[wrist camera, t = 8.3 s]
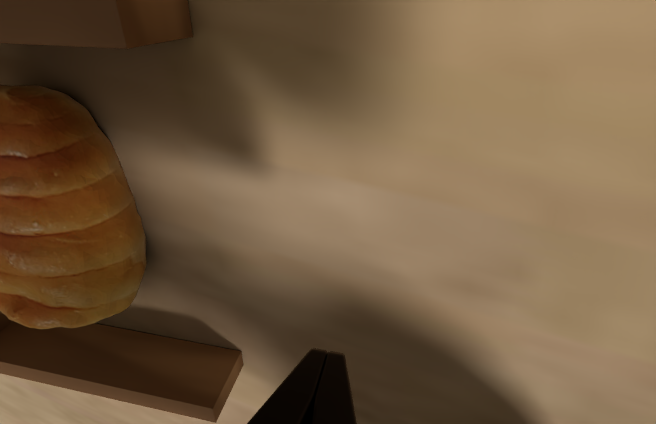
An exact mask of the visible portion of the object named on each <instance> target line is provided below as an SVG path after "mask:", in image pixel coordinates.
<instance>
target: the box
mask: <svg viewBox="0 0 656 424" xmlns="http://www.w3.org/2000/svg"><path fill="white" fill-rule="evenodd" d="M188 37H193V33H192V26H191V20H190V13H189V7H188V0H0V43H12V44H34V45H56V46H77V47H99V48H121V49H129V48H134V47H139V46H145V45H150V44H156V43H161V42H167V41H172V40H178V39H183V38H188ZM242 367H243V359H242V353H241V351H236V350H231V349H226V348H221V347H216V346H210V345H205V344H200V343H195V342H189V341H184V340H179V339H174V338H168V337H163V336H158V335H153V334H148V333H142V332H137V331H132V330H127V329H121V328H116V327H111V326H106V325H100V324H95V323H93V324H89V325H86V326H82V327H77V328H66V327H55V328H49V329H36V328H29V327H26V326H24V325H22V324H19V323H17V322H14V321H12V320H9V319H8V317H7V316H6V315H5V314H3V313H2V312H1V311H0V373H1V374H6V375H10V376H14V377H19V378H23V379H28V380H32V381H36V382H41V383H45V384H49V385H54V386H58V387H62V388H67V389H71V390H76V391H80V392H84V393H89V394H93V395H97V396H102V397H106V398H111V399H115V400H119V401H124V402H128V403H132V404H137V405H141V406H146V407H150V408H154V409H159V410H163V411H167V412H172V413H176V414H180V415H185V416H189V417H194V418H198V419H202V420H207V421H211V422H215V423H216V421H217V419H218V417H219V415H220V413H221V411H222V409H223V407H224V405H225V402H226V400H227V398H228V396H229V394H230V392H231V390H232V388H233V386H234V383H235V381H236V379H237V377H238V375H239V373H240V371H241V369H242Z"/></svg>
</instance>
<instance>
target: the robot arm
mask: <svg viewBox="0 0 656 424" xmlns="http://www.w3.org/2000/svg"><path fill="white" fill-rule="evenodd" d="M247 424H357V423H356V417H355V411H354V406H353V400H352V394H351V388H350V383H349V377H348V371H347V366H346V360H345V356H344V354H343V353H338V352H332V351H330V352H329V353H328V352H327V351H326V350H321V349H316V348H313V349H311V350H310V351H309V352H308V353H307V354H306V356H305V357H304V358H303V359H302V360H301V361H300V363H299V364H298V365H297V366H296V367H295V368H294V370H293V371H292V372H291V373H290V374H289V375H288V377H287V378H286V379H285V380H284V381H283V382H282V384H281V385H280V386H279V387H278V388H277V389H276V391H275V392H274V393H273V394H272V395H271V396H270V398H269V399H268V400H267V401H266V402H265V403H264V405H263V406H262V407H261V408H260V409H259V410H258V412H257V413H256V414H255V415H254V416H253V417H252V419H251V420H250V421H249V422H248V423H247Z"/></svg>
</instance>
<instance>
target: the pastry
mask: <svg viewBox="0 0 656 424" xmlns="http://www.w3.org/2000/svg"><path fill="white" fill-rule="evenodd" d="M145 247H146V237H145V233H144V230H143V227H142V223H141V217H140V216H139V215H138V213H137V209H136V204H135V200H134V197H133V195H132V193H131V191H130V188H129V186H128V183H127V180H126V178H125V175H124V172H123V169H122V167H121V164H120V162H119V159H118V157H117V155H116V153H115V150H114V148H113V146H112V144H111V142H110V140H109V139H108V138H107V137H106V136H105V135H104V134H103V133H102V131H101V130H100V129H99V127H98V126H97V124H96V123H95V121H94V120H93V118H92V116H91V114H90V113H89V111H88V110H87V109H86V108H85V107H84V106H82V105H81V104H79V103H78V102H76V101H75V100H73V99H72V98H71V97H69V96H68V95H66V94H64V93H61V92H58V91H55V90H51V89H48V88H45V87H42V86H37V85H23V86H7V85H0V311H1V312H2V313H3V314H5V315H6V316H7V317H8V319H9V320H12V321H14V322H17V323H19V324H22V325H24V326H26V327H29V328H36V329H49V328H55V327H66V328H77V327H82V326H86V325H89V324H93V323H95V322H98V321H100V320H102V319H104V318H108V317H111V316H113V315H115V314H118V313H121V312H123V311H124V310H125V309H126V308H128V307H129V305H130V304H131V303H132V302H133V300H134V298H135V296H136V294H137V291H138V289H139V286H140V283H141V280H142V277H143V274H144V271H145V268H146V264H147V263H146V256H145ZM147 262H148V261H147Z"/></svg>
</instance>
